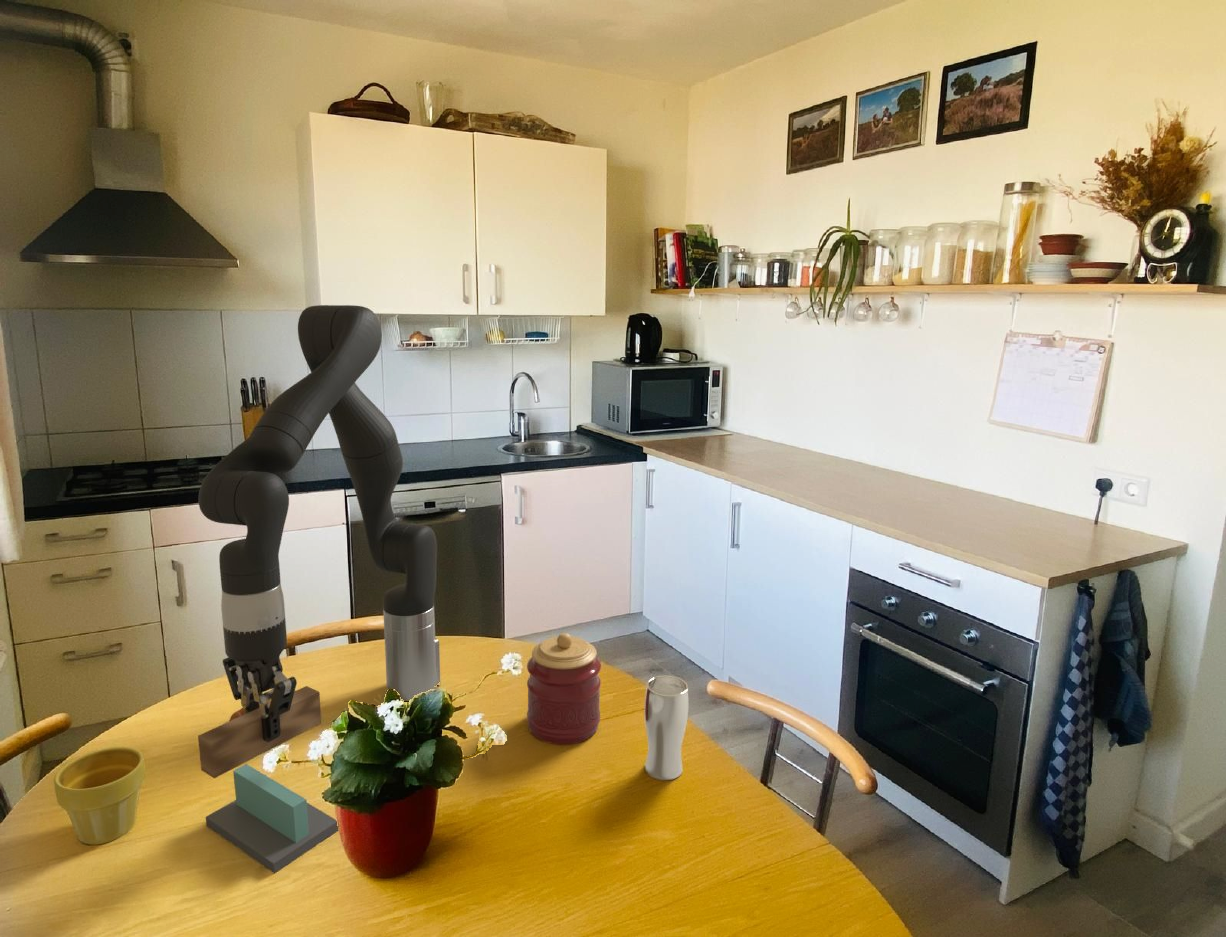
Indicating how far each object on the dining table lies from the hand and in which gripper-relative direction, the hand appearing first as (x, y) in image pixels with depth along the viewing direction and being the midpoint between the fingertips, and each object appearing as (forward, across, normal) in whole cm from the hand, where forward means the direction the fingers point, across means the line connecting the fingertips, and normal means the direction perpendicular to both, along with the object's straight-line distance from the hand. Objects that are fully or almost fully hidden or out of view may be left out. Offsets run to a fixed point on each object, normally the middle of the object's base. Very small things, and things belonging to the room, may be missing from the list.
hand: (263, 733), depth 104 cm
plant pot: (+15, +19, +13) cm, 27 cm away
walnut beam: (+2, 0, 0) cm, 2 cm away
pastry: (+15, +27, -16) cm, 35 cm away
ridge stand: (+15, 0, 0) cm, 15 cm away
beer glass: (+15, -39, -44) cm, 61 cm away
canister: (+15, -18, -45) cm, 51 cm away
